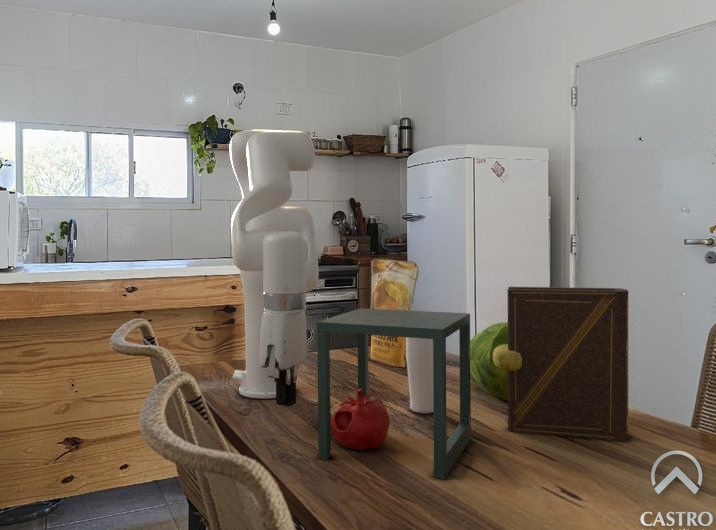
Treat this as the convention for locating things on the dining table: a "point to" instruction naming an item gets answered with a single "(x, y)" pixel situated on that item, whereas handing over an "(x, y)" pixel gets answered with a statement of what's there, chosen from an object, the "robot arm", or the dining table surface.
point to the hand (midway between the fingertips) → (286, 404)
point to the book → (567, 361)
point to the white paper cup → (420, 374)
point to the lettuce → (489, 360)
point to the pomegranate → (360, 423)
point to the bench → (438, 330)
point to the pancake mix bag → (391, 304)
